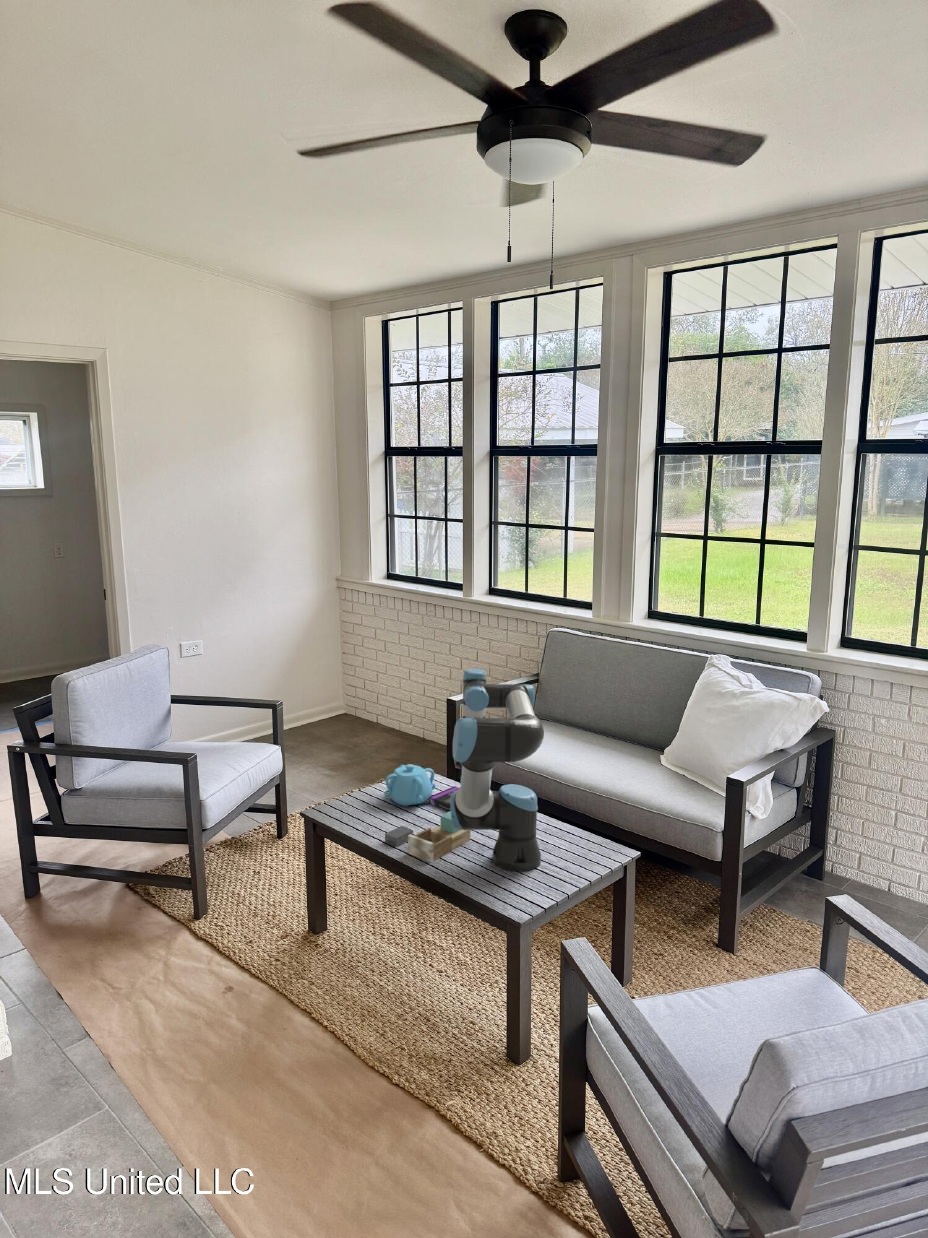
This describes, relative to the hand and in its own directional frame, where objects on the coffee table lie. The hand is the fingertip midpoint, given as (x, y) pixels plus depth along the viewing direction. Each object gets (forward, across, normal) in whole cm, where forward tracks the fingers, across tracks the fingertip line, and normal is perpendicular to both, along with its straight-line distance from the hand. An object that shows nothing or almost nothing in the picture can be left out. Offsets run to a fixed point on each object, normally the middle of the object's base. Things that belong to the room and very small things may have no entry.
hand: (472, 781), depth 270 cm
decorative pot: (+18, -5, -32) cm, 37 cm away
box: (+18, -13, -15) cm, 27 cm away
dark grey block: (+17, +22, -13) cm, 31 cm away
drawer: (+17, +16, 0) cm, 24 cm away
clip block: (+13, +10, 0) cm, 17 cm away
